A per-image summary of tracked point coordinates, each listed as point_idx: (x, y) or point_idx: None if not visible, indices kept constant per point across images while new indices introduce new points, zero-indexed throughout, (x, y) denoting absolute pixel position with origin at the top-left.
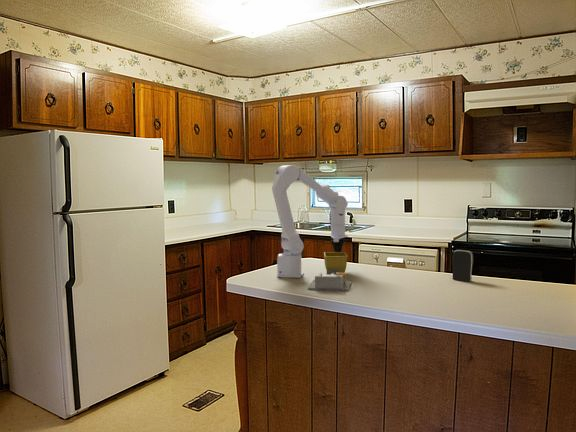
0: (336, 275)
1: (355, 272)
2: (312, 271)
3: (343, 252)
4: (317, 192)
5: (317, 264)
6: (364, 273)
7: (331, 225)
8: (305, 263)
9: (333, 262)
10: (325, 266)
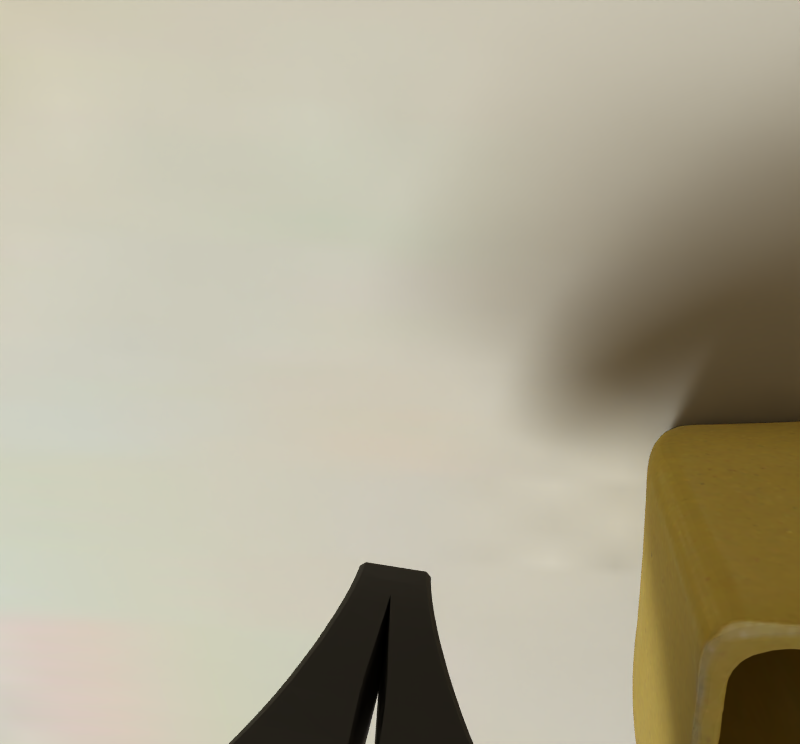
0: None
1: (493, 192)
2: None
3: (735, 666)
4: None
5: (43, 638)
6: (582, 20)
7: None
8: (31, 732)
9: None
10: (752, 713)
